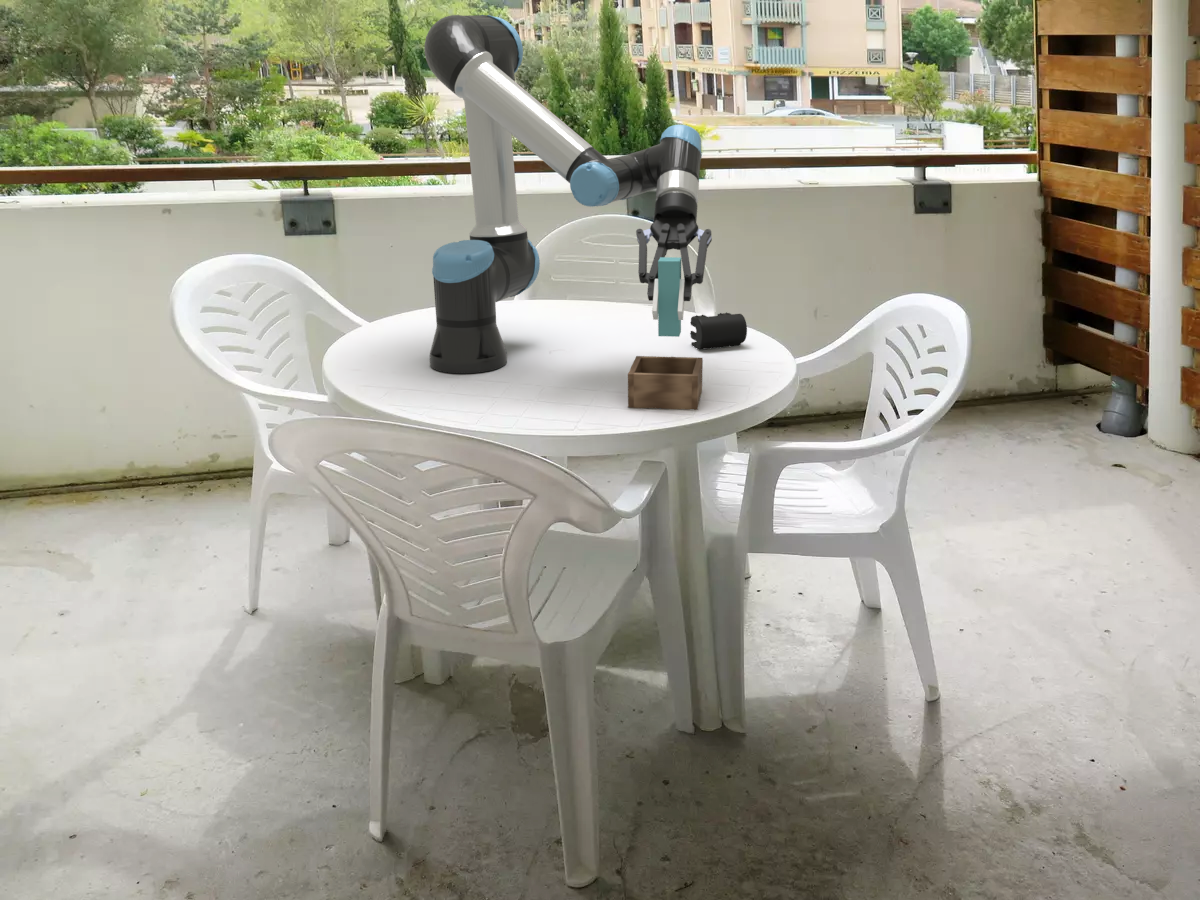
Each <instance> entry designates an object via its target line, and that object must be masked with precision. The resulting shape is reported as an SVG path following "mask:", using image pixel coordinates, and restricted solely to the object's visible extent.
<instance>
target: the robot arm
mask: <svg viewBox="0 0 1200 900" xmlns="http://www.w3.org/2000/svg"><path fill="white" fill-rule="evenodd" d="M424 41H425V42H424V48H423V49H424V57H425V60H426V63H427V66H428V67H429V69H430V71H431V72H432V74H433V75H434V76H435V78H436V79H438V81H440V82H441V83H442V84H443V85H444V86H445V87H446V88H447V89H448V90H450V91H451V92H452V93H453V94H454V95H456V96H457V97H458V98H460V99H462V100H463V101H464V111H465V112H464V113H465V114H464V115H465V122H466V133H467V134H466V135H467V143H468V152H469V153H468V154H469V165H470V176H471V185H472V195H473V207H474V217H475V225H474V227H473V228H472V229H471V231H470V232H469V239H463V240H458V241H453V242H449V243H446V244H443V245H442V246H441V245H440V247H438V248H437V249H436V250H435V251H434V253H433V256H432V269H431V274H432V277H433V288H434V289H433V290H434V291H433V292H434V304H435V305H434V306H435V307H434V308H435V318H436V319H435V320H436V329H435V332H434V336H433V338H432V343H431V348H430V351H429V367H430V368H431V369H433V368H434V369H433V370H435V369H436V371H438V370H439V371H438V372H442V371H443V372H442V373H447V372H448V373H449V374H477V373H485V372H490V371H494V370H497V369H500V368H502V367H504V366H505V365H506V364H507V363H508V355H507V349H506V346H505V343H504V341H503V339H502V335H501V333H500V330H499V328H498V324H497V309H496V305H497V304H496V303H498V302H500V301H502V300H505V299H508V298H513V297H516V296H518V295H521V294H522V293H523V292H525V291H526V290H528V289H529V288H530V287H531V286H532V285H533V284H534V283H535V281H536V280H537V278H538V275H539V273H540V272H539V271H540V267H541V266H540V264H541V263H540V255H539V253H538V249H537V248H536V246H534V245H533V243H532V241H531V240H530V239H529V237H528V228H526V227H525V226H524V225H523V224H522V223H521V222H520V219H519V209H518V208H519V207H518V199H517V198H518V197H517V187H516V175H515V174H516V173H515V163H514V162H515V161H514V149H513V148H514V147H513V139H512V137H514V138H515V139H517V140H518V141H519V142H520V143H521V144H522V145H524V146H525V147H526V148H527V149H528V150H529V151H531V152H532V153H533V154H534V155H536V156H537V158H539V159H540V160H542V161H543V162H544V163H545V164H546V165H548V167H549V168H551V169H552V170H553V171H555V172H556V173H557V174H558V175H560V176H561V177H562V179H564V180H565V181H566V182H568V183H569V187H570V192H571V194H572V195H573V198H574V199H575V200H576V202H578V203H579V204H581V205H582V206H585V207H590V208H591V207H592V208H593V207H602V206H606V205H609V204H611V203H613V202H618V201H625V200H627V199H630V198H633V197H635V196H639V195H642V194H645V193H647V192H651V191H654V190H656V192H655V204H654V214H653V222H652V224H651V225H650V227H649V228H647V229H644V230H643V229H642V228H637V229H636V231H635V233H636V241H637V243H638V280H639V282H640V283H641V284H646V285H647V299H648V301H652V308H651V309H652V310H651V313H652V319H653V320H655V321H656V320H657V321H658V261H659V259H660V257H666V256H667V254H668V251H669V250H670V251H671V250H678V251H680V258H681V266H682V271H683V278H681V279H680V288H679V300H678V319H679V320H681V321H684V310H685V302H690V301H691V300H692V287H693V285H696V284H699V285H701V284H702V283H703V282H704V275H705V269H706V268H705V267H706V259H707V254H708V253H707V251H708V248H709V246H710V244H711V243H712V241H713V240H712V239H713V238H712V230H711V229H710V228H707V229H704V230H703V229H700V228H699V225H698V223H697V218H698V203H699V202H698V201H699V189H700V170H701V169H700V168H701V159H702V157H703V155H702V139H701V135H700V134H699V132H698V130H696V129H695V128H693V127H692V126H690V125H687V124H674V125H671V126H668V127H667V128H666V129H665V130H664V131H663V132H662V133H661V137H660V139H659V143H658V144H656V145H653V146H650V147H647V148H646V149H642V150H639V151H634V152H631V153H629V154H625V155H621V156H617V157H612V158H607V157H606V156H604V155H603V154H602V153H601V152H599V151H598V150H597V149H596V148H594V147H593V146H592V145H591V144H590V143H589V142H588V141H586V140H585V139H584V138H583V137H581V136H580V135H579V134H578V133H577V132H575V131H574V130H573V129H572V128H571V127H570V126H568V125H567V124H566V123H565V122H564V121H562V119H560V118H559V117H558V116H556V115H555V114H554V113H553V112H552V111H550V110H549V109H548V108H547V107H546V106H545V105H543V104H542V103H541V101H539V100H537V99H536V98H535V97H534V96H533V95H532V94H530V93H529V92H528V91H527V90H526V89H524V88H523V87H522V86H520V85H519V84H518V83H517V82H516V79H515V73H517V71H518V70H519V67H520V66H521V65H522V62H523V56H524V48H523V43H522V40H521V36H520V35H519V33H518V31H517V30H516V28H515V27H514V26H513V25H512V24H511V23H510V22H509V21H507V20H506V19H503V18H502V17H499V16H493V15H490V14H478V15H477V14H476V15H474V14H473V15H461V14H452V15H447V16H445V17H443V18H440V19H439V20H437V21H435V22H434V24H433V25H432V26H431V27H430V28H429V30H428V32H427V35H426V36H425V40H424ZM651 237H653V239H654V240H655V241H656V243H657V247H656V250H655V254H654V256H653V260H652V263H651V266H650V270H649V272H648V243H649V242H650V241H651V239H650V238H651ZM696 237H697V242H698V248H697V249H698V251H697V257H696V263H695V264H696V265H695V271H694V273H692V272H691V265H690V262H691V261H690V257H689V250H688V245H690V244H691V243H692V242H693V241H694V239H695V238H696Z"/></svg>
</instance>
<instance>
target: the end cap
mask: <svg viewBox="0 0 1200 900" xmlns="http://www.w3.org/2000/svg"><path fill="white" fill-rule="evenodd" d="M746 321H747V320H746V318H745V316H744V315H743V314H742V313H734V314H732V313H730V312H728V311H727V312H724V313H722V312H720V313H717V315H712V316H707V315H705V314H701V315H697V314H696V315H692V316H691V318H690V326H692V327H694V328H695V330H696V331H693V330H690V333H689V334H690V338H691V339H692V340H694V341H692V342H691V344H690V345H691V346H692V347H693V346H694V347H693V348H695V349H696V348H697V350H698V349H699V351H700V350H708V349H709V350H711V349H719V348H720V347H721V348H730V347H729V346H731V347H739V345H742V343H745V341H746V339H747V335H748V326H747V322H746ZM710 348H711V349H710Z"/></svg>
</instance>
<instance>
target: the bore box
mask: <svg viewBox="0 0 1200 900" xmlns="http://www.w3.org/2000/svg"><path fill="white" fill-rule="evenodd" d="M634 358H635V359H634V360H633V362H632V364H631V367H630V369H629V370H628V371H629V372H628V373H627V407H630V409H631V408H633V409H659V408H661V409H664V410H665V409H667V410H690V409H694V411H695V410H696V411H697V410H698V409H699V405H700V400H701V396H702V393H703V371H704V370H703V361H704V360H703V358H704V357H696V356H695V357H692V356H691V357H688V356H687V357H686V356H653V355H651V356H650V355H649V356H647V355H646V356H645V355H643V356H642V355H636V356H635V357H634ZM661 409H660V410H661Z"/></svg>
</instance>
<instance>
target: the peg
mask: <svg viewBox="0 0 1200 900" xmlns="http://www.w3.org/2000/svg"><path fill="white" fill-rule="evenodd" d="M680 279H682V259H681V257H677V256H676V257H668V256H667V257H666V256H665V257H660V259H659V261H658V320H657V321H658V323H657V326H658V328H657V331H658V332H657V334H658V335H657V336H658V337H672V338H673V337H675V338H676V337H678V338H679V337H680V335H681V333H682V320H679V319H678V300H679V288H680Z"/></svg>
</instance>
